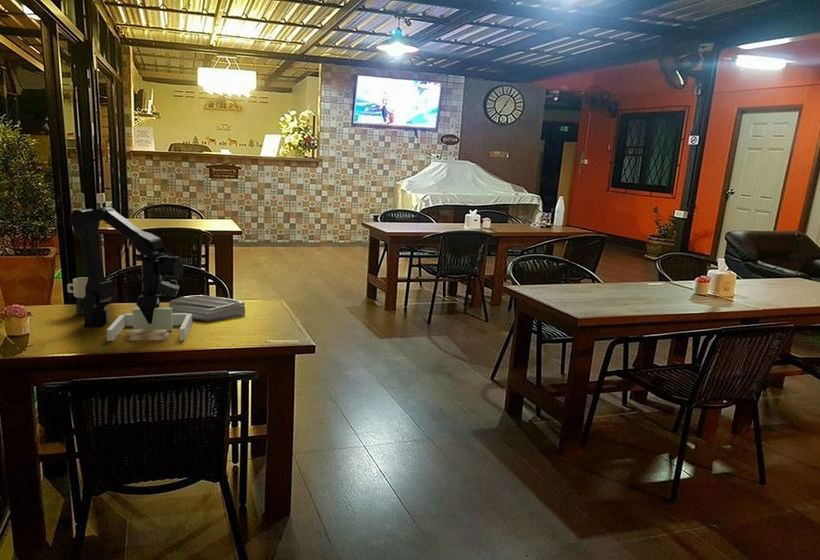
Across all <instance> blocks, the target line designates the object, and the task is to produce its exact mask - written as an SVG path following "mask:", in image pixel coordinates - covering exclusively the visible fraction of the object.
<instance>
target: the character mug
mask: <svg viewBox="0 0 820 560" xmlns="http://www.w3.org/2000/svg"><path fill="white" fill-rule="evenodd" d="M87 281H88V276H87V277H86V276H82V277H76V278H73V279H72V283H68V284H67V286H66V290H67V293H69V294H73V297H75V298H76V305H75V313H76V314H79V315H84V309H80V306H79V302H80V301H81V300H82V299H83V298H84V297H85V287H86V284H87ZM71 287H72V289H73V290H72V289H71Z"/></svg>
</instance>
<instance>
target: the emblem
mask: <svg viewBox="0 0 820 560" xmlns="http://www.w3.org/2000/svg"><path fill="white" fill-rule="evenodd" d="M168 308H172V313H192V321H199V322H206V323H207V322H214V320H216V321H222V320H221V319H223V320H228V319H227V318H229V319H233V318H232V317H234V318H238V317H237V316H240V317H243V316H242V315H245V316H246V307H245V302H244V301H241V300H237V299H233V298H227V297H220V296H213V295H204V294H199V295H187V296H185V295H184V296H180V297H177V298H175V299H172V300H170V301H169V303H168Z"/></svg>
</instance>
